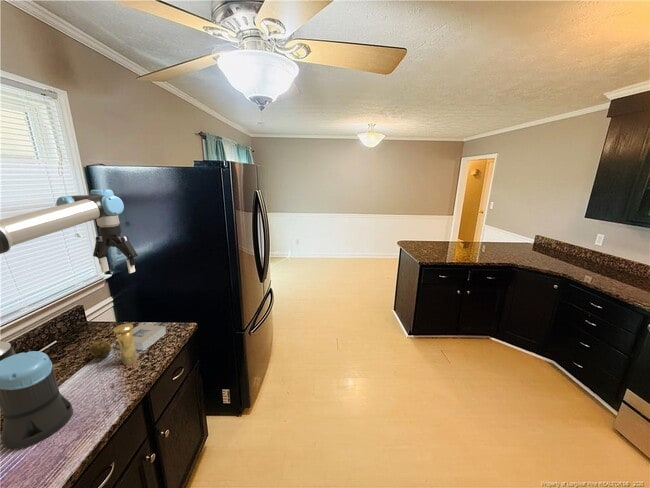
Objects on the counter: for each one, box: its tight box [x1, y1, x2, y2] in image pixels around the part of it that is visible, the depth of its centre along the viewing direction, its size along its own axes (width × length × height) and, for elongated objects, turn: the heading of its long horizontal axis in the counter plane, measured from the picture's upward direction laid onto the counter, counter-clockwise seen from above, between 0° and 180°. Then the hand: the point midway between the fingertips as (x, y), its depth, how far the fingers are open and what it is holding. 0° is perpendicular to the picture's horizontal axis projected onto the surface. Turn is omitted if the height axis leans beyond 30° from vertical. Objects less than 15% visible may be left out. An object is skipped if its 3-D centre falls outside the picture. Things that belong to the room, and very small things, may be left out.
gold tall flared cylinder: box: [113, 322, 138, 366], centre depth 110 cm, size 6×6×16 cm
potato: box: [88, 340, 113, 359], centre depth 115 cm, size 8×13×8 cm, turn 27°
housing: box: [114, 324, 167, 352], centre depth 126 cm, size 14×14×4 cm
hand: (118, 272), depth 119 cm, fingers open, 13 cm apart
